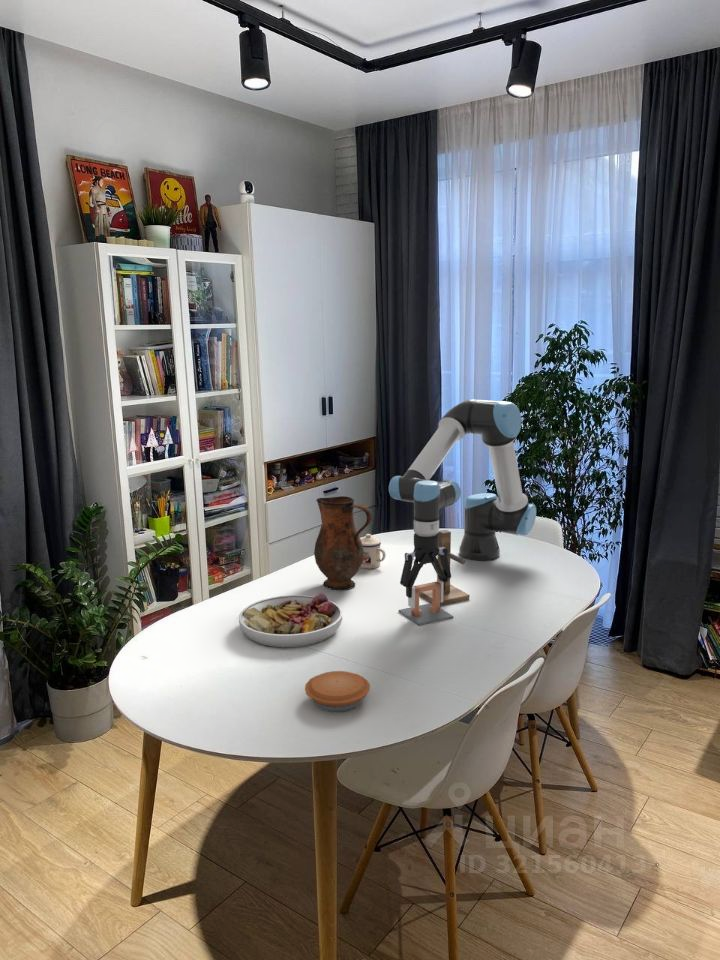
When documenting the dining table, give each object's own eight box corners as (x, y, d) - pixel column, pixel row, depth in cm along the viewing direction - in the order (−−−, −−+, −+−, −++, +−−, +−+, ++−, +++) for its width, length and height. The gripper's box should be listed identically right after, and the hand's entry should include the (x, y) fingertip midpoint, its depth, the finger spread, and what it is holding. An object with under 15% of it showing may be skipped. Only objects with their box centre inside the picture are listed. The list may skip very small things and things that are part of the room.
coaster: (431, 604, 239) (431, 602, 239) (453, 617, 229) (453, 616, 228) (398, 611, 234) (398, 609, 234) (419, 625, 223) (419, 623, 223)
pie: (373, 715, 174) (373, 695, 173) (305, 719, 173) (305, 699, 172) (366, 683, 189) (366, 664, 188) (304, 686, 188) (304, 668, 187)
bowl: (287, 662, 201) (286, 635, 200) (218, 631, 221) (217, 606, 220) (363, 627, 223) (363, 602, 221) (294, 602, 243) (293, 579, 241)
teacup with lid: (351, 566, 276) (350, 535, 274) (366, 559, 283) (366, 529, 281) (377, 572, 269) (377, 541, 266) (392, 565, 276) (392, 535, 273)
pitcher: (332, 573, 268) (330, 491, 262) (384, 584, 257) (383, 498, 250) (304, 587, 255) (301, 501, 248) (357, 600, 243) (356, 509, 237)
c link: (436, 609, 234) (436, 581, 232) (440, 611, 232) (440, 583, 230) (411, 614, 230) (411, 586, 228) (414, 616, 228) (414, 588, 226)
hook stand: (417, 593, 248) (418, 529, 243) (448, 587, 253) (449, 524, 249) (445, 611, 234) (446, 542, 229) (477, 604, 239) (479, 537, 234)
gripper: (400, 541, 217) (400, 614, 222) (464, 530, 227) (463, 601, 232) (387, 535, 224) (388, 606, 229) (450, 524, 234) (449, 593, 239)
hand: (425, 603), depth 230 cm, fingers open, 9 cm apart
